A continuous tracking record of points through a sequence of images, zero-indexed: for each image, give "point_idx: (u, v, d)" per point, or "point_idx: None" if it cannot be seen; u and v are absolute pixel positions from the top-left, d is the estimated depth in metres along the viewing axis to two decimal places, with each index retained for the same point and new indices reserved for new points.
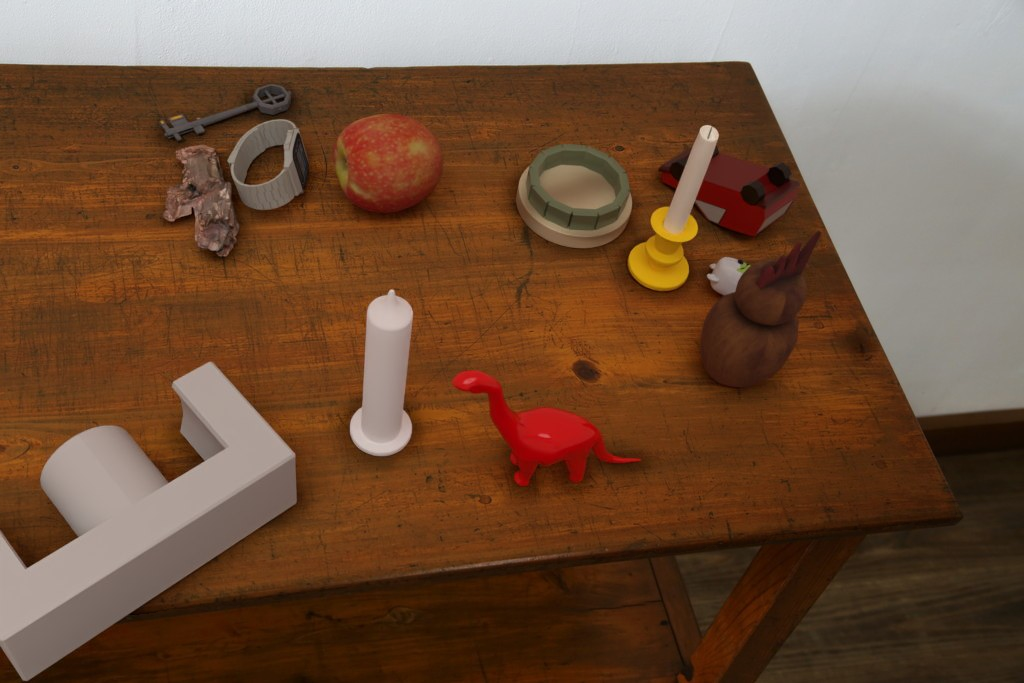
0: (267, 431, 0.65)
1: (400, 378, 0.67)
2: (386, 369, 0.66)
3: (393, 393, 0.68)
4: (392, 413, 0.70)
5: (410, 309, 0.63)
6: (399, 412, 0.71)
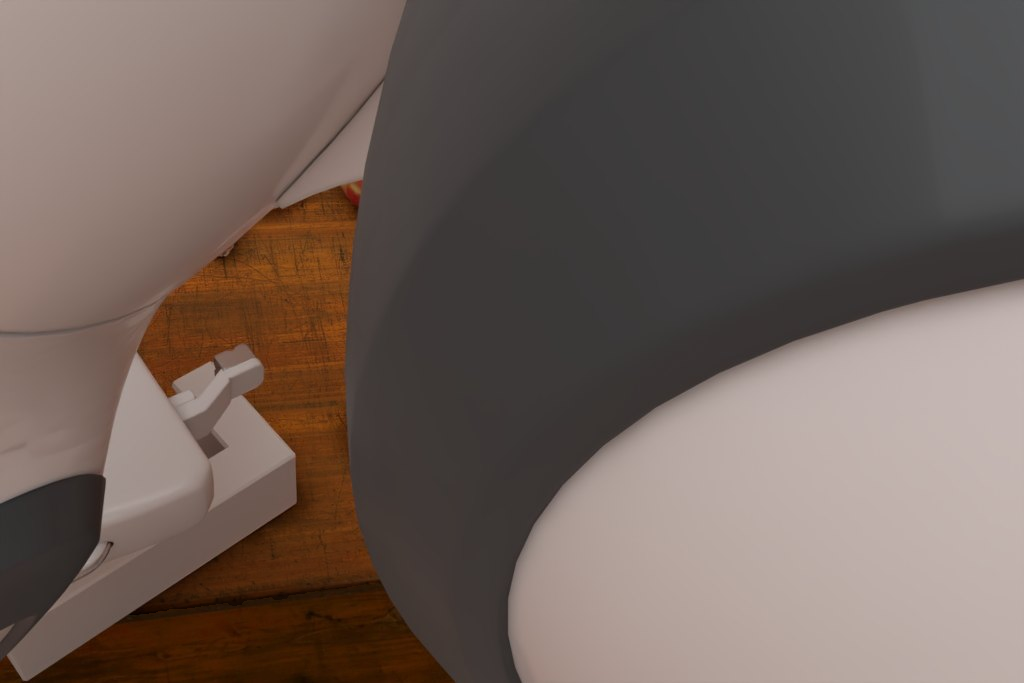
0: (267, 431, 0.65)
1: None
2: None
3: None
4: None
5: None
6: None
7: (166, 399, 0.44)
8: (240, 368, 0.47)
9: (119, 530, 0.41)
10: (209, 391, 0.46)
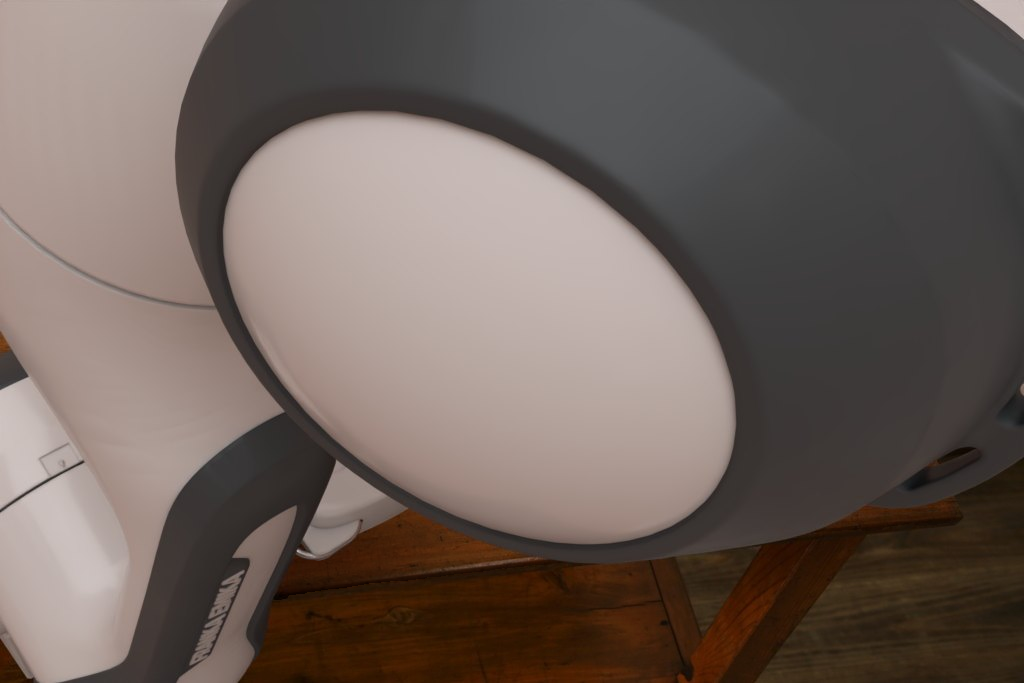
0: None
1: None
2: None
3: None
4: None
5: None
6: None
7: None
8: None
9: (368, 510, 0.57)
10: None
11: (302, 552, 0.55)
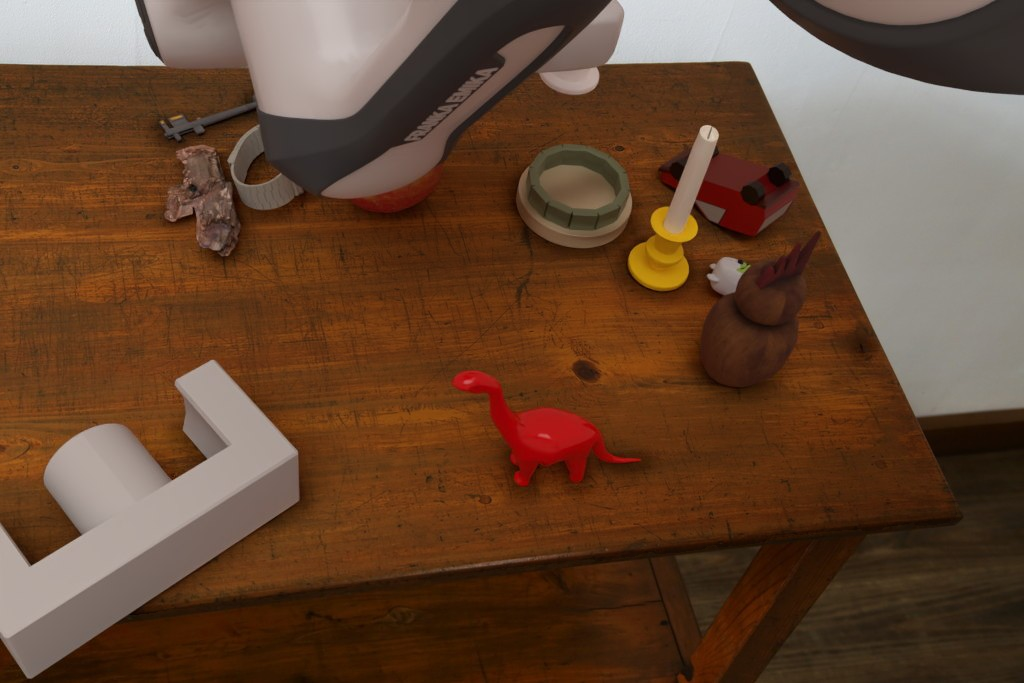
0: (270, 429, 0.65)
1: None
2: None
3: None
4: None
5: None
6: None
7: None
8: None
9: None
10: None
11: None
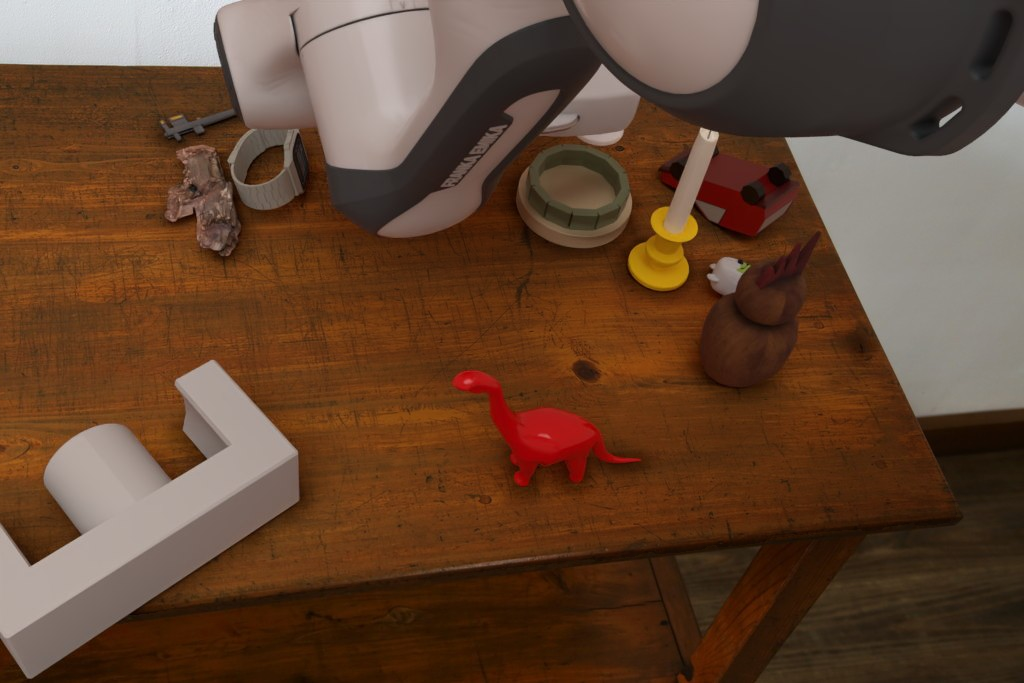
0: (270, 429, 0.65)
1: None
2: None
3: None
4: None
5: None
6: None
7: None
8: None
9: (586, 107, 0.66)
10: None
11: None
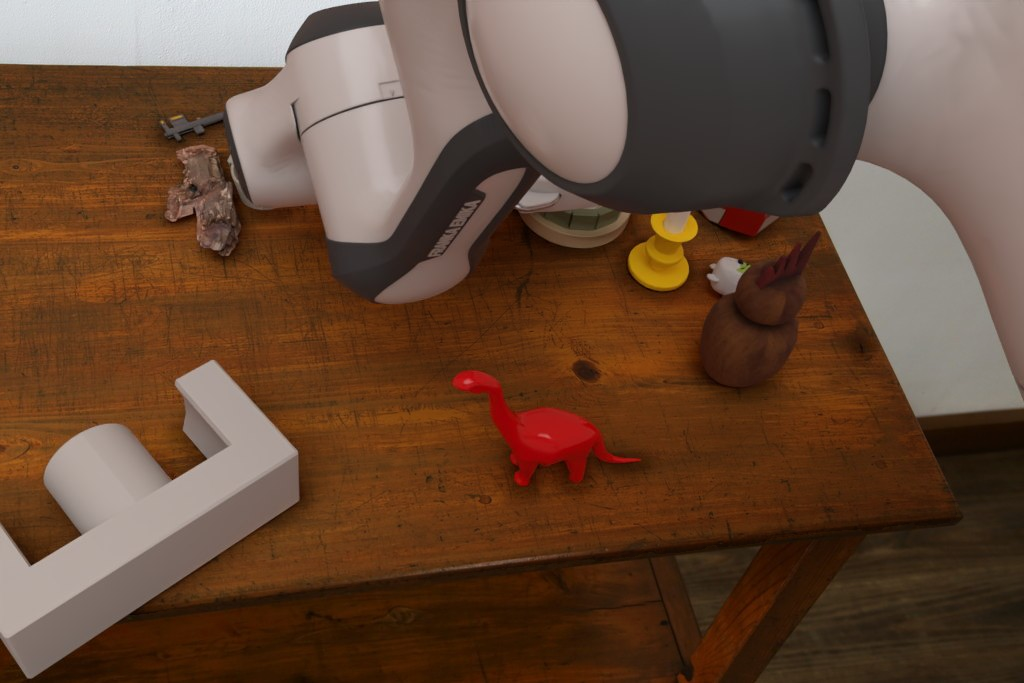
0: (270, 429, 0.65)
1: None
2: None
3: None
4: None
5: None
6: None
7: None
8: None
9: None
10: None
11: None
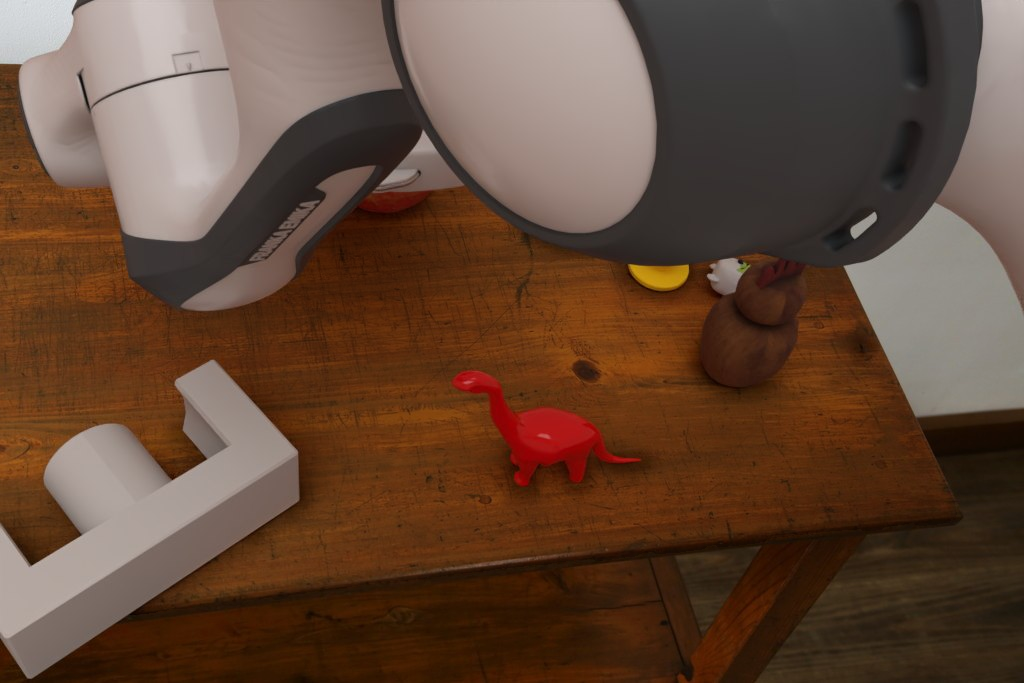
0: (270, 429, 0.65)
1: None
2: None
3: None
4: None
5: None
6: None
7: None
8: None
9: (426, 162, 0.62)
10: None
11: None
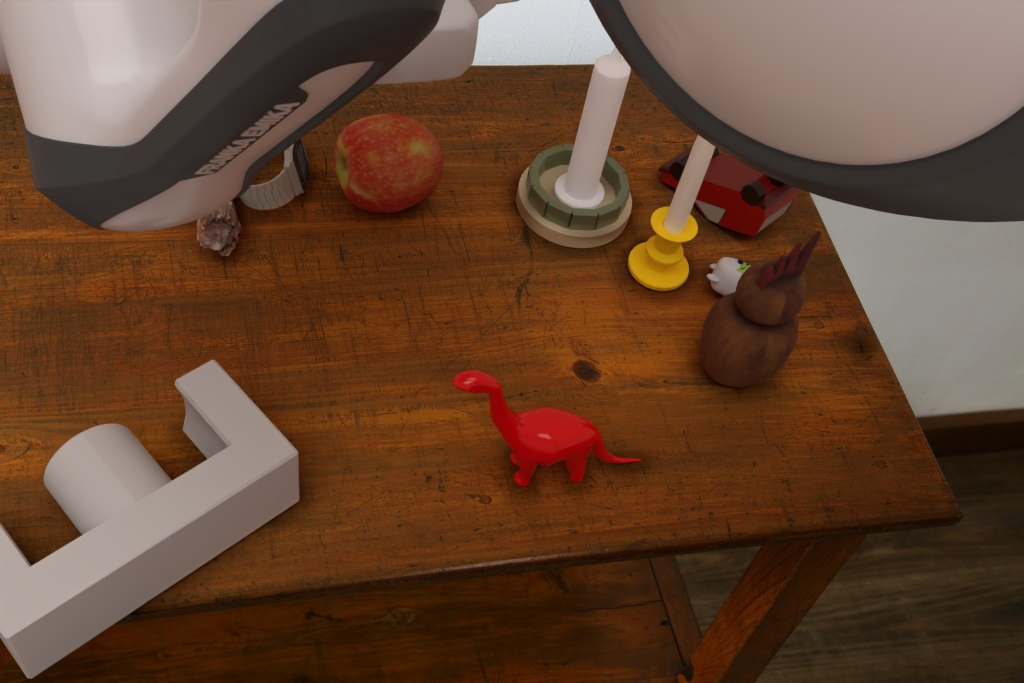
0: (270, 429, 0.65)
1: (607, 133, 0.82)
2: (598, 119, 0.81)
3: (598, 147, 0.83)
4: (593, 169, 0.85)
5: (629, 67, 0.79)
6: (598, 171, 0.86)
7: None
8: None
9: None
10: None
11: None
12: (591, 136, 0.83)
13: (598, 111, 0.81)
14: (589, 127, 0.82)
